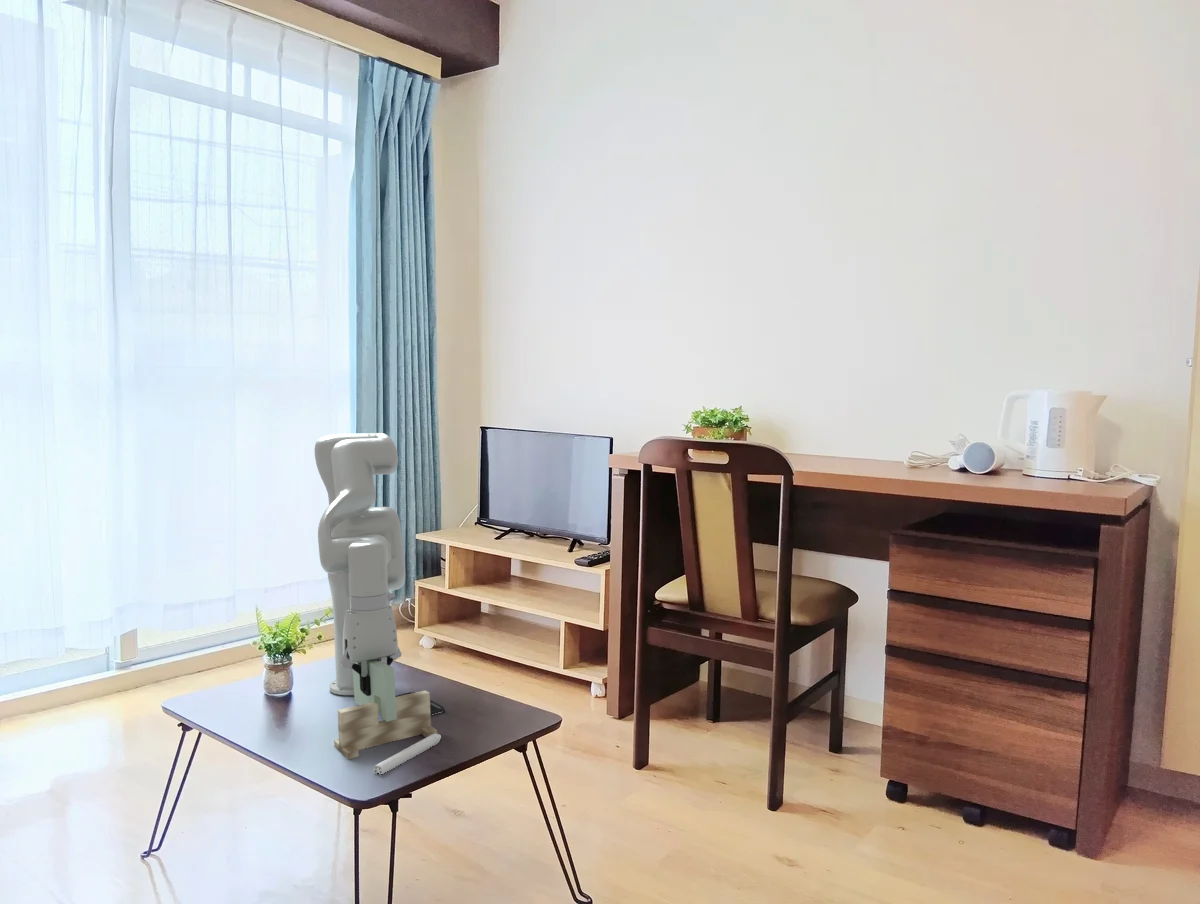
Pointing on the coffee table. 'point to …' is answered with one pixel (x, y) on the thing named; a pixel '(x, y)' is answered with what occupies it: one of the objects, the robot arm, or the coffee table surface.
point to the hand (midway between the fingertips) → (372, 692)
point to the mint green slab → (378, 688)
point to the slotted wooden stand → (383, 724)
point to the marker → (407, 754)
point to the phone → (433, 706)
